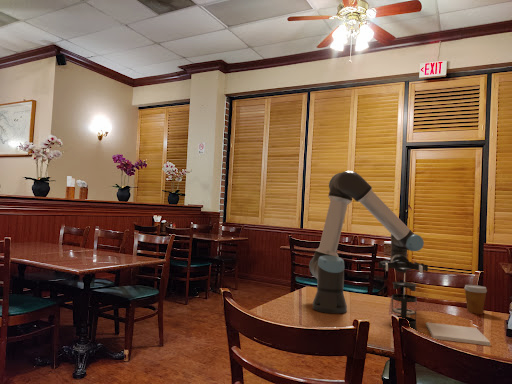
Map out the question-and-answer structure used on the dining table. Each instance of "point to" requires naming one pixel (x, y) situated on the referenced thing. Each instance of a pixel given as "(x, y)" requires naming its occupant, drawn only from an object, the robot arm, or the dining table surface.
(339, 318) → the dining table surface
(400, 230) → the robot arm
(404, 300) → the french press
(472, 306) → the disposable coffee cup
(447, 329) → the ceramic trivet
